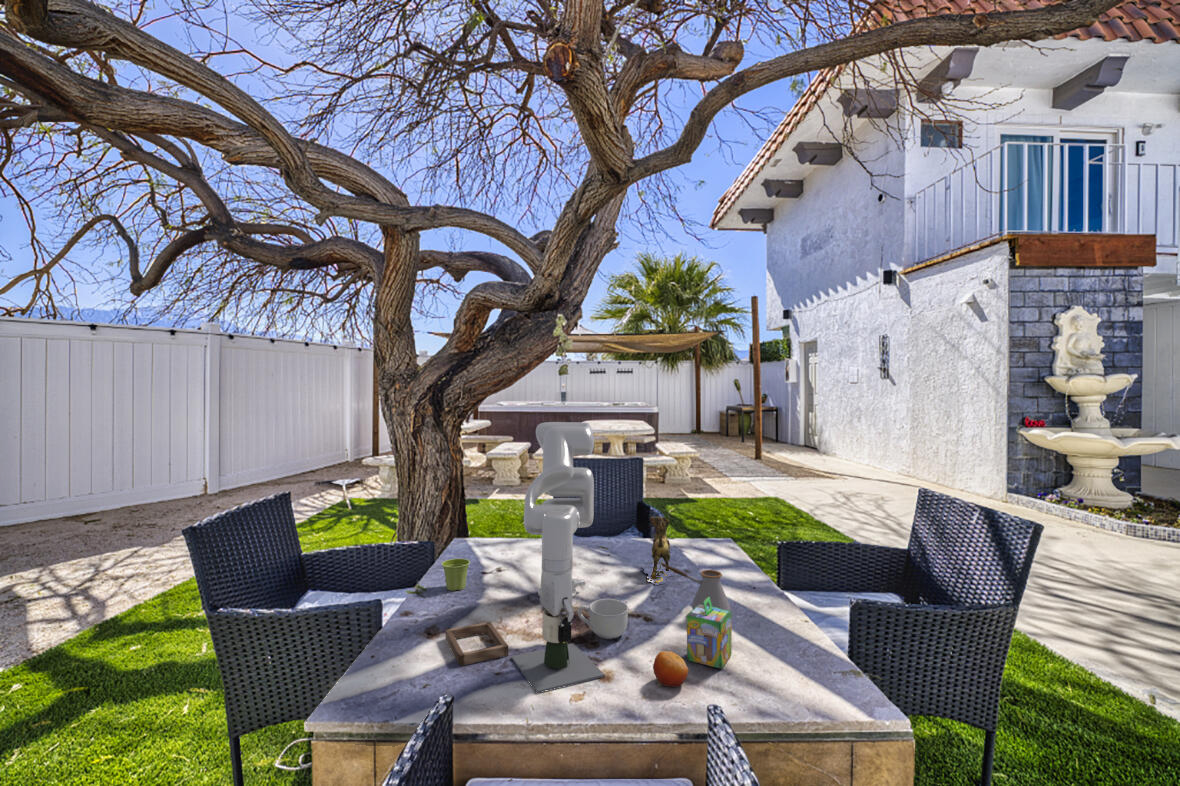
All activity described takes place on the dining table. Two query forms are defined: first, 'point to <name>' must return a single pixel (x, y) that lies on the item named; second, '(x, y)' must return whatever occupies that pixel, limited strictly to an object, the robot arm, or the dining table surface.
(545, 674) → the rubber mat
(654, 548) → the figurine
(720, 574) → the coffee pot
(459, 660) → the collar
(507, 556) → the dining table surface
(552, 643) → the character mug
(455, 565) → the plant pot
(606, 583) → the dining table surface
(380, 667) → the dining table surface
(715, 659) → the chalk box
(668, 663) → the fruit
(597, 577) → the dining table surface
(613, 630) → the teacup
